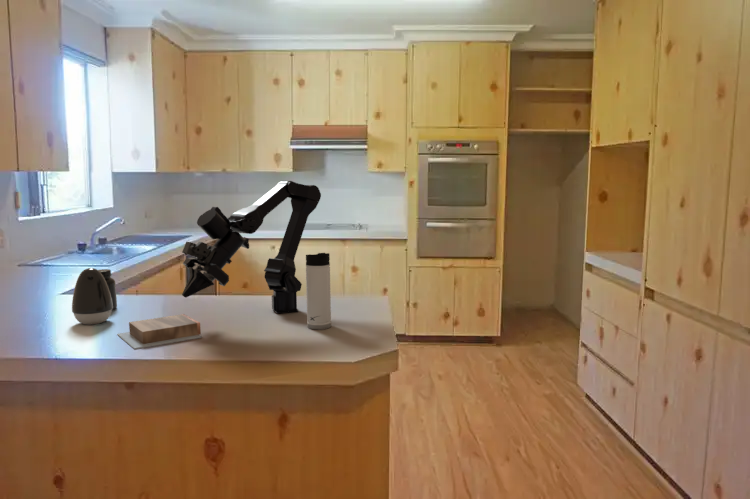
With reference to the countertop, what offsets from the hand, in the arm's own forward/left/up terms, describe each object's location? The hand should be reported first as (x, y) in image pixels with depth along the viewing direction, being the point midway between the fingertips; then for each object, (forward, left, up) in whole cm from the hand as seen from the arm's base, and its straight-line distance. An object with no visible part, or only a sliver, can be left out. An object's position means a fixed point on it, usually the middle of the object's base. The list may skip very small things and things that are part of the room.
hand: (183, 296), depth 150 cm
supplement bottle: (+21, -38, -9) cm, 44 cm away
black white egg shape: (+23, -21, -9) cm, 32 cm away
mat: (+6, +2, -9) cm, 11 cm away
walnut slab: (-2, -1, -7) cm, 8 cm away
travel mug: (-33, +9, -9) cm, 36 cm away
